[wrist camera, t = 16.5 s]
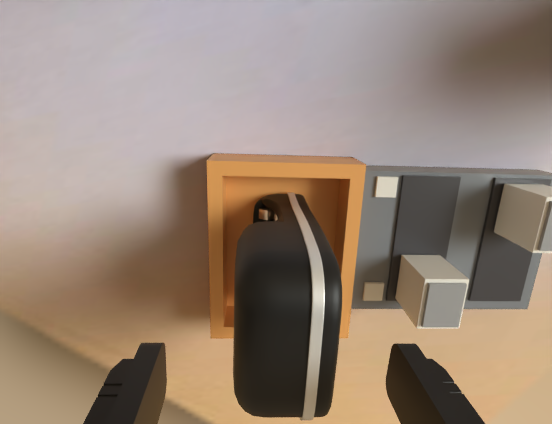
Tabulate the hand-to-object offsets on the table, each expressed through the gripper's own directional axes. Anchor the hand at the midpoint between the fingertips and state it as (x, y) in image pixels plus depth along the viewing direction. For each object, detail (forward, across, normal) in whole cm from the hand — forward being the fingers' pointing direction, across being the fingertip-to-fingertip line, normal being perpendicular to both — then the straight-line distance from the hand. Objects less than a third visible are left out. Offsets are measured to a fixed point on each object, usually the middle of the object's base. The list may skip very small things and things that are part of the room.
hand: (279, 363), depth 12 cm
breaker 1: (+9, -9, +1) cm, 13 cm away
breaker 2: (+9, -15, -4) cm, 18 cm away
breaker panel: (+11, -12, -1) cm, 16 cm away
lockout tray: (+12, -1, 0) cm, 12 cm away
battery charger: (+11, 0, 0) cm, 11 cm away
